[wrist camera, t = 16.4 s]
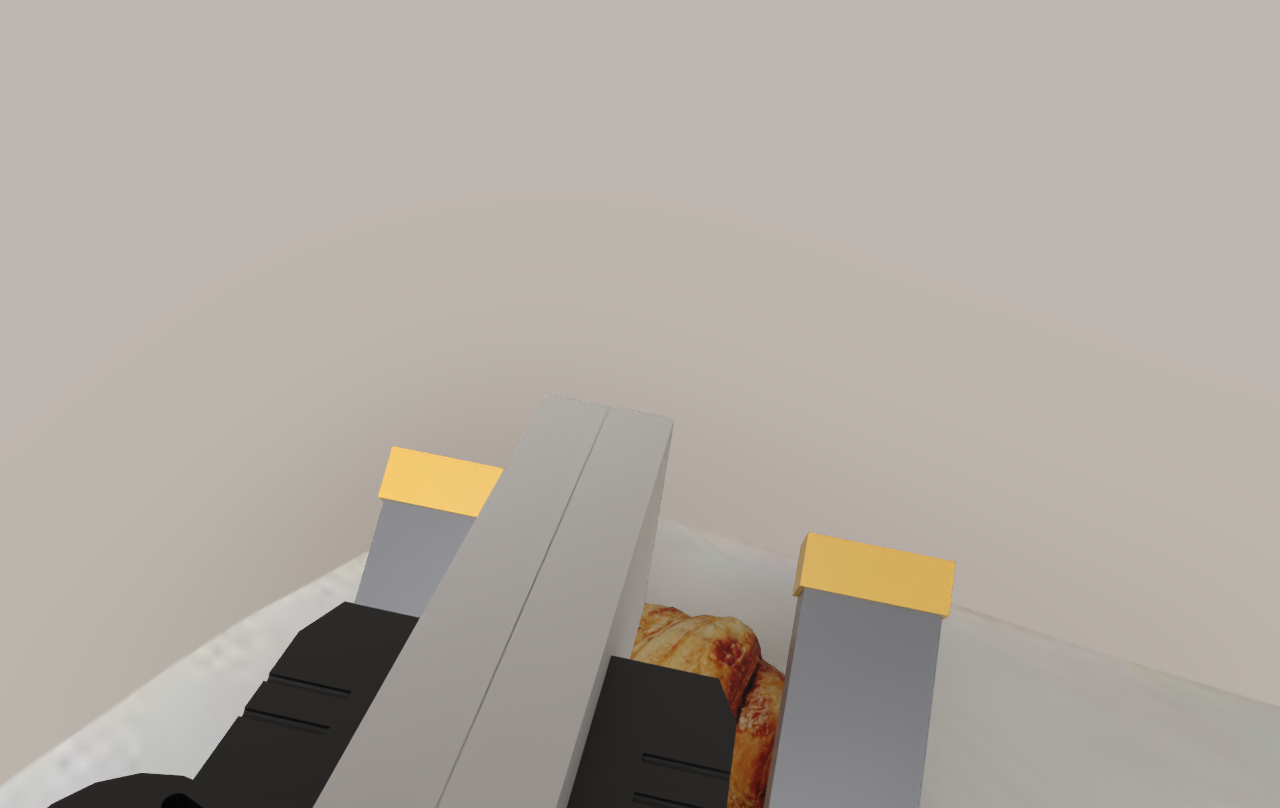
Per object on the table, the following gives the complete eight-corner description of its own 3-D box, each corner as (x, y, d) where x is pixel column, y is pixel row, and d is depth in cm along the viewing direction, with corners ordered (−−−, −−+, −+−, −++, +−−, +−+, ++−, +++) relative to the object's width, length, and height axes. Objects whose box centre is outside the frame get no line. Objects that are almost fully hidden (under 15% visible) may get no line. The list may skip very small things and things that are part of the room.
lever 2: (916, 1031, 34) (969, 564, 39) (718, 983, 35) (795, 529, 40) (900, 1015, 36) (952, 576, 41) (715, 970, 37) (788, 542, 42)
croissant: (471, 702, 56) (418, 627, 50) (590, 560, 60) (554, 476, 54) (821, 956, 45) (806, 897, 39) (936, 760, 49) (938, 681, 44)
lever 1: (436, 914, 36) (543, 476, 40) (254, 871, 36) (379, 443, 41) (450, 904, 38) (550, 490, 42) (279, 863, 39) (395, 459, 43)
